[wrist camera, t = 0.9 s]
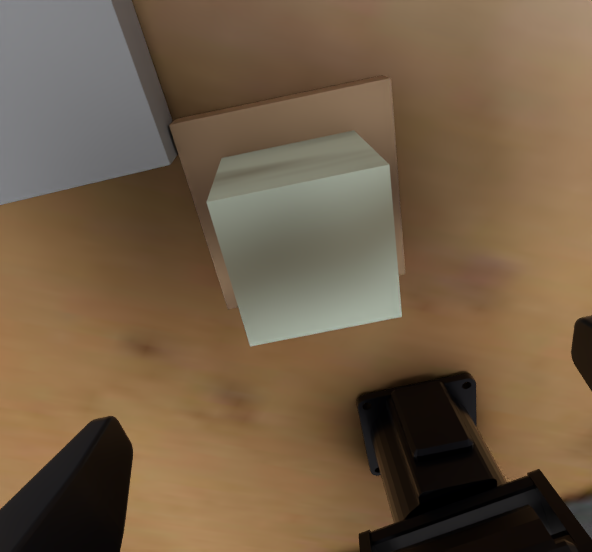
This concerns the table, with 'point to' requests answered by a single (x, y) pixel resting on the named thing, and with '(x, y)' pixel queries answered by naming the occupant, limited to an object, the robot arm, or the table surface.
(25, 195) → the dock
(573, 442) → the table surface
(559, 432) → the table surface
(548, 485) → the robot arm
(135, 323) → the table surface
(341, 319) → the cube on wooden base
